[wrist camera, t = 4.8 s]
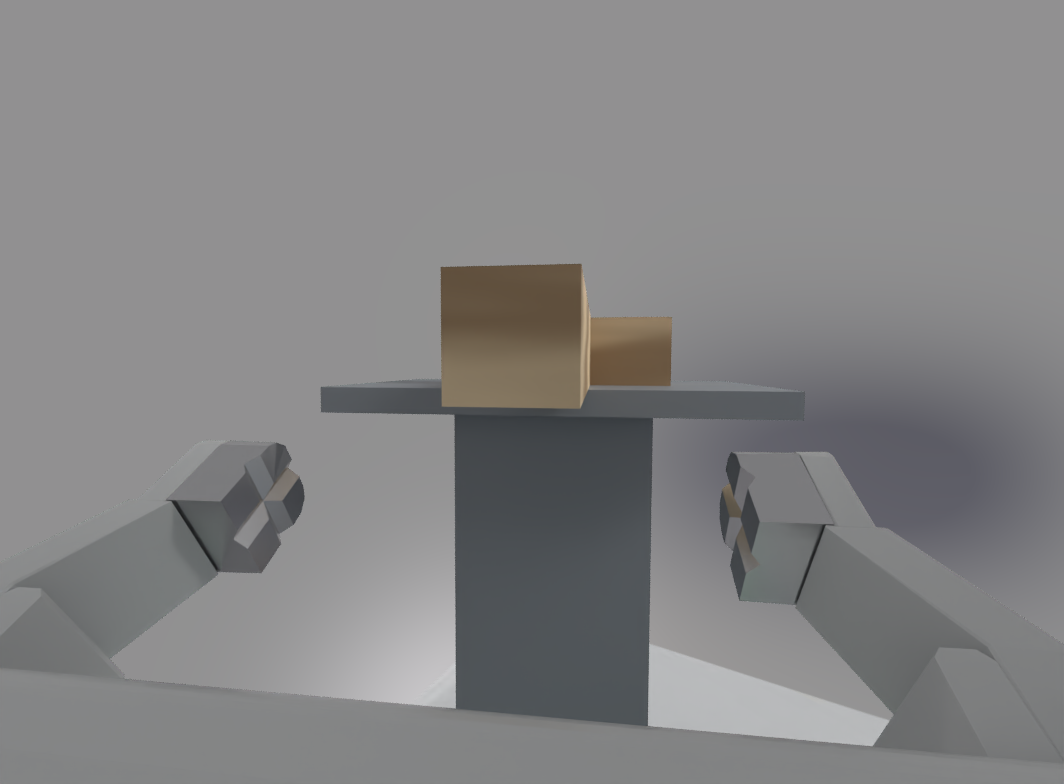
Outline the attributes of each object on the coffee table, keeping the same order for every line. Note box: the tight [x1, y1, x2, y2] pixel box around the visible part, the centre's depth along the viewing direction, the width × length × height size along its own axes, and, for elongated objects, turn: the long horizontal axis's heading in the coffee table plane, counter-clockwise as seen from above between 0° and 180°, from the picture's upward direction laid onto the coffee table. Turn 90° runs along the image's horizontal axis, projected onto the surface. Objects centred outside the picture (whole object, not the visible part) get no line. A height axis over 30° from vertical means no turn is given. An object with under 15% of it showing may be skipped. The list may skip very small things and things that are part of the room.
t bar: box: [441, 264, 672, 409], centre depth 18 cm, size 15×10×3 cm, turn 172°
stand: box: [321, 379, 805, 726], centre depth 25 cm, size 11×18×26 cm, turn 82°
